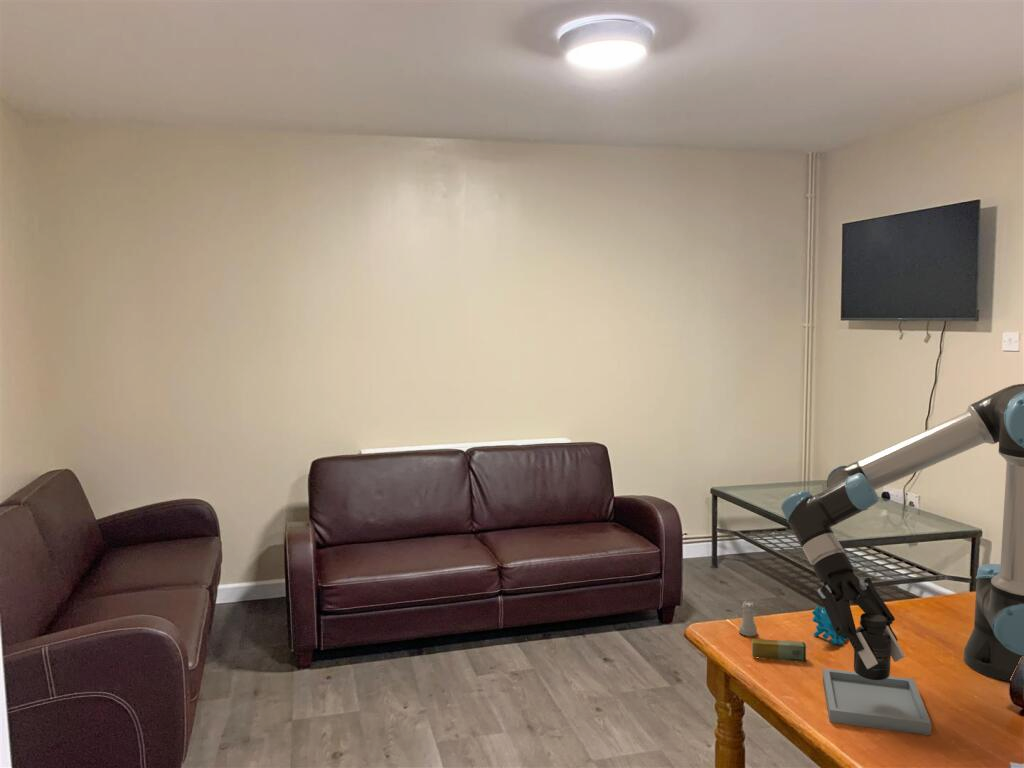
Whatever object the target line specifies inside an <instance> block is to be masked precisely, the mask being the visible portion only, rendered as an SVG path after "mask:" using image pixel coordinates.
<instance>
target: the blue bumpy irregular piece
mask: <svg viewBox="0 0 1024 768" xmlns="http://www.w3.org/2000/svg"><path fill="white" fill-rule="evenodd" d="M811 611H812V612H811V613H812V614H813V615H814V616H812V622H814V623H816V624H817V625H816V626H815V628H816V631H815V632H813V636H814V637H818V636H820V635H821V634H822V637H823V639H824V640H828V639H830V637H831V639H830V640H829V641H830V643H831V644H832V645H836V644H837V645H838V646H842V645H844V644H845V643H844V642H846V641H847V640H848V638H847V639H844V638H843V637H842V635H841V636H838V635H837V634H836V632H835V630H834V628H833V626H832V623H831V621H830V619H829V617H828V614H827V612H826V610H825V608H824V607H822V606H819V605H817V606H816V607H815V609H814V610H811Z"/></svg>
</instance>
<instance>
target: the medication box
mask: <svg viewBox="0 0 1024 768" xmlns="http://www.w3.org/2000/svg"><path fill="white" fill-rule="evenodd" d="M751 652H752V654H751V657H752V656H753V657H759V658H766V659H765V660H771V659H773V660H774V661H783V660H785V662H795V661H797V662H798V663H806V662H807V656H806V655H807V645H806V643H805V642H804V641H793V640H778V639H762V638H751ZM759 658H758V659H759ZM773 660H772V661H773Z"/></svg>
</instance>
